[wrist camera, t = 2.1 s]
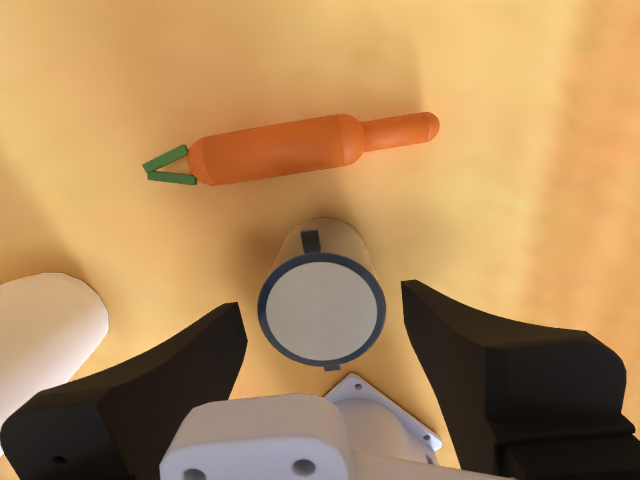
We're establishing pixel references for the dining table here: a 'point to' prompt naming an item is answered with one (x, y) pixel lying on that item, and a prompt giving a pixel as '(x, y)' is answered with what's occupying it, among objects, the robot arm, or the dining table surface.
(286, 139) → the carrot
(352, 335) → the mug
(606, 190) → the dining table surface
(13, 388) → the foam cup
